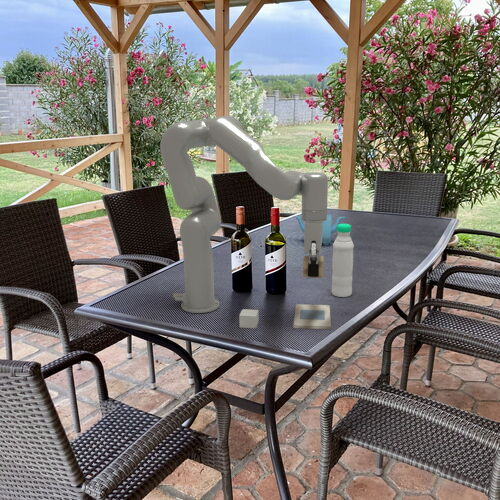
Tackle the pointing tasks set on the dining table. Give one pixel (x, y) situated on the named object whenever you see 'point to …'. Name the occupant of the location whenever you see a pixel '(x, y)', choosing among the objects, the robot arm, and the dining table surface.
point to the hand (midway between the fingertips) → (313, 272)
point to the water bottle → (342, 262)
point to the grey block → (249, 318)
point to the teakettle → (324, 228)
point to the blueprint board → (312, 317)
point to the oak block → (320, 262)
